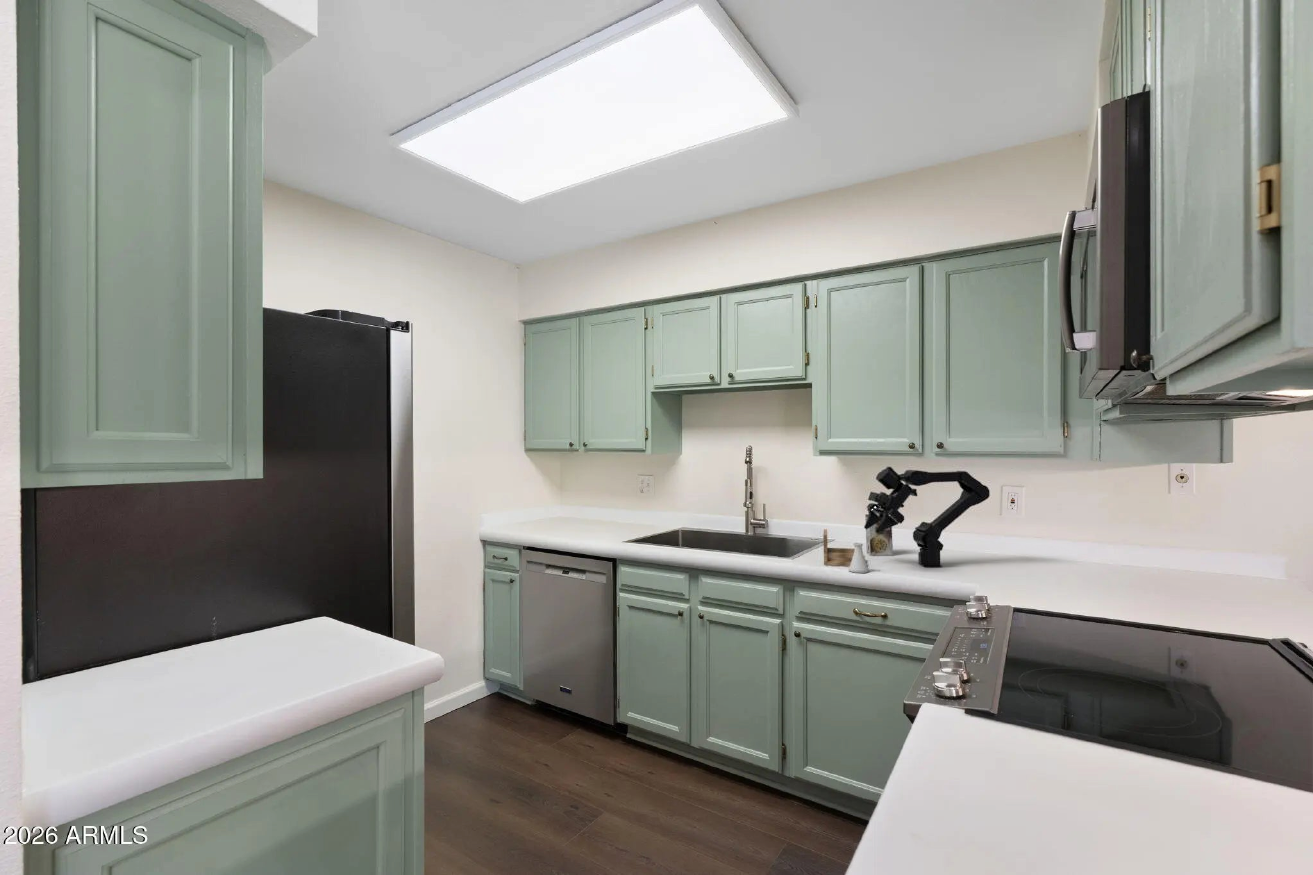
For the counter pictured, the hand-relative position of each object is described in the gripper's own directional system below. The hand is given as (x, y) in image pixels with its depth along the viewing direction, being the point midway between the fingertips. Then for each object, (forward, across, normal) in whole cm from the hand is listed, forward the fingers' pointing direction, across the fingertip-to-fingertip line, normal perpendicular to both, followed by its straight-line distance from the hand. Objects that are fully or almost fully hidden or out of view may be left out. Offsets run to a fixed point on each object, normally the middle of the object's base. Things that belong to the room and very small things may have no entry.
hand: (870, 530), depth 219 cm
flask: (+15, +4, +4) cm, 16 cm away
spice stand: (+14, -11, +5) cm, 18 cm away
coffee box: (+1, -24, +20) cm, 31 cm away
